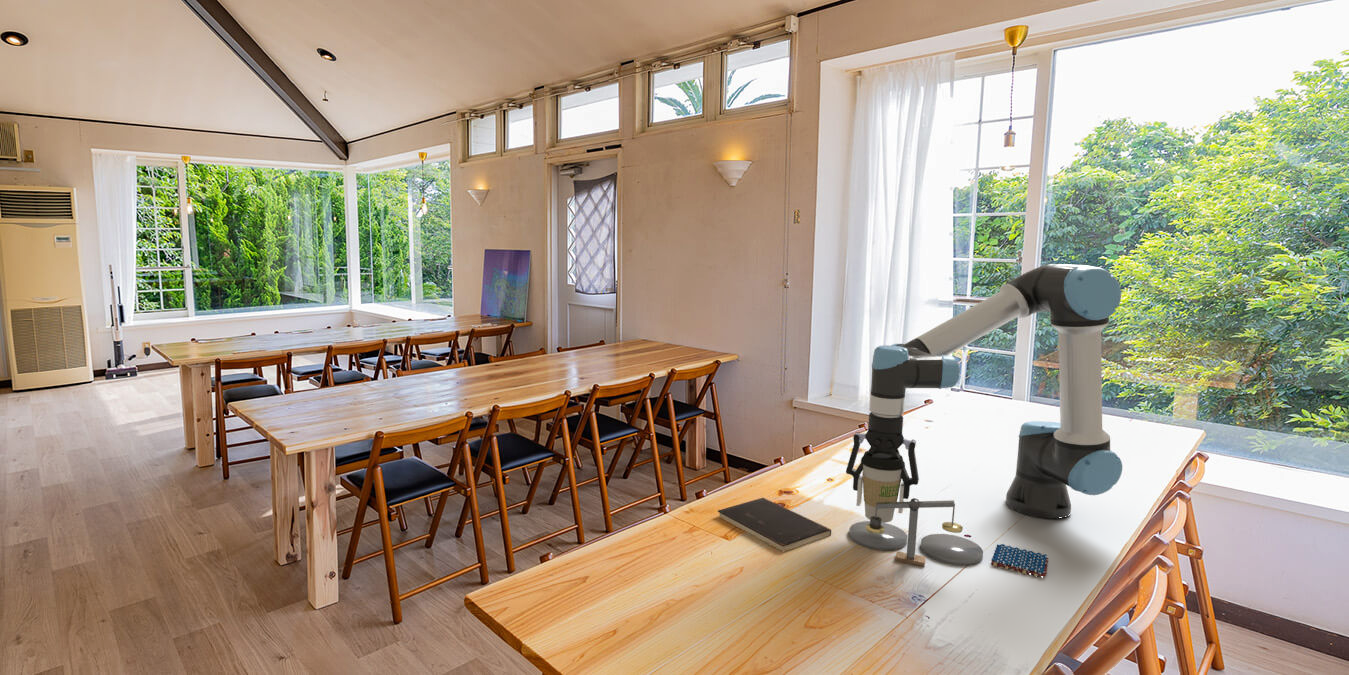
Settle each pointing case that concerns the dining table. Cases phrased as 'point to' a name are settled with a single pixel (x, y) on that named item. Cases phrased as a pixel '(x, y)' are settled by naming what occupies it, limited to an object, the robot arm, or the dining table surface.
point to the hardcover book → (774, 523)
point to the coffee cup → (881, 483)
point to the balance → (912, 526)
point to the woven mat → (1020, 560)
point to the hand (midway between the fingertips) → (879, 507)
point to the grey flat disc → (951, 549)
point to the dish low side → (878, 536)
